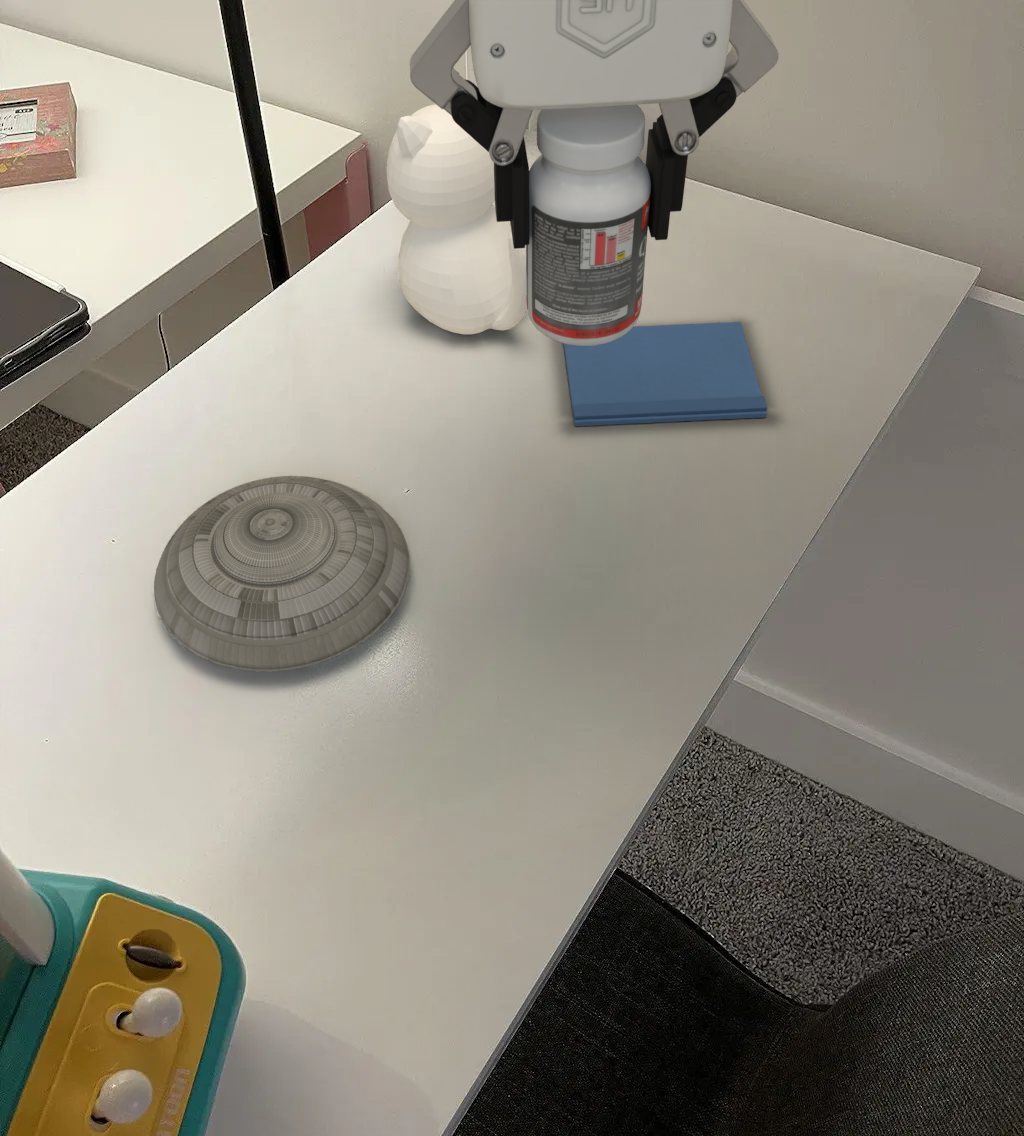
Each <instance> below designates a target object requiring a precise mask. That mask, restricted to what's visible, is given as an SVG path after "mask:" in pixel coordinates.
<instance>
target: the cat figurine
mask: <svg viewBox="0 0 1024 1136" xmlns="http://www.w3.org/2000/svg"><path fill="white" fill-rule="evenodd" d="M386 182H387V189H388V193H389V196H390V198H391V200H392V203H393V205H394V207H395V208H396V209H397V211H398V212H400V214H402V215H403V216H404V217H405V218H406V219H407V220H409V223H408V225H407V226H406V228H405V230H404V233H403V235H402V238H401V243H400V246H399V252H398V265H397V269H398V281H399V284H400V288H401V291H402V293H403V297H404V299H406V300H407V302H409V304H410V305H411V307H412V308H413V310H415V311H416V312H417V313H418V314H420V316H422V317H423V318H425V320H427V321H428V322H430V324H434V325H435V326H437V327H438V328H440V329H443V330H445V331H448V332H451V333H455V334H459V335H476V334H480V333H482V332H485V331H487V330H491V329H492V330H495V331H507V330H510V329H513V328H514V327H516V326H517V325H518V324H519V323H520V322H521V321H522V320H523V318H524V317H525V316H526V313H527V312H528V311H527V302H526V296H527V293H526V245H525V248H518V249H514V246H513V239H512V231H511V224H510V221H505V222H497V220H496V211H495V205H493V204H495V189H494V162H493V161H492V160H491V158H490V155H489V152H488V151H487V150H486V149H484V148H483V147H482V146H481V145H480V144H479V143H478V142H477V141H476V140H474V139H473V138H472V137H471V136H470V135H469V134H468V133H467V132H465V131H464V130H463V129H462V128H461V127H460V126H459V125H458V124H456V123H455V121H454V120H453V118H452V116H451V115H450V114H449V113H448V112H447V111H445V110H444V109H441V108H440V107H439V106H438V105H436V104H435V103H434V104H430V105H427V106H423V107H422V108H419V109H418V110H416V111H415V112H414V113H412V114H410V115H404V116H401V117H400V118H399V120H398V122H397V127H396V131H395V133H394V135H393V138H392V140H391V143H390V146H389V150H388V155H387V162H386Z"/></svg>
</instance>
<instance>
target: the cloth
mask: <svg viewBox="0 0 1024 1136" xmlns="http://www.w3.org/2000/svg"><path fill="white" fill-rule="evenodd" d="M747 342H748V341H747V339H746V335H745V332H744V328H743V325H742V322H741V321H730V322H708V323H686V324H685V323H683V324H682V323H681V324H663V325H662V324H661V325H659V324H658V325H640V326H639V325H638V326H637V325H636V326H633V328H632V329H631V330H630V331H629V332H627V333H626V334H625V335H623V336H622V337H620V338H618V339H616V340H613V341H611V342H608V343H604V344H599V345H592V346H577V345H569V344H565V343H562V345H563V351H564V356H565V366H566V373H567V380H568V388H569V395H570V404H571V411H572V419H573V425H574V427H590V426H608V425H630V424H633V425H634V424H650V423H651V424H655V423H673V422H674V423H675V422H694V421H695V422H698V421H716V420H717V421H718V420H737V419H738V420H739V419H757V418H758V419H759V418H760V419H761V418H767V414H768V412H767V411H768V406H767V402H766V399H765V396H764V395H762V391H761V387H760V384H759V380H758V377H757V373H756V370H755V366H754V363H753V360H752V357H751V353H750V349H749V346H748V343H747Z"/></svg>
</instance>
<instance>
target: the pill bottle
mask: <svg viewBox="0 0 1024 1136" xmlns="http://www.w3.org/2000/svg"><path fill="white" fill-rule="evenodd" d="M536 120H537V122H536V147H537V149H538V151H539V153H540V155H539V156H538V157H537V158H536V159H535V160H534V162H533V163H532V165H531V166H530V167H529V245H526V293H527V296H526V302H527V311H526V312H527V315H528V317H529V320H530V322H531V324H532V325H533V326H534V327H535V329H537V331H539V332H540V333H541V334H542V335H544V336H545V337H547V338H549V339H550V340H553V341H555V342H558V343H561V344H563V343H565V344H569V345H577V346H592V345H599V344H604V343H608V342H611V341H613V340H616V339H618V338H620V337H622V336H623V335H625V334H626V333H627V332H629V331H630V330H631V329H632V328H633V327H635V325H636V324H637V322H638V321H639V318H640V315H641V311H642V305H643V294H644V280H645V267H646V257H647V255H646V254H647V242H648V231H649V228H648V219H649V208H650V197H651V179H650V175H649V172H648V169H647V167H646V162H645V161H644V160H643V159H642V158H641V157H640V156H639V155H640V154H641V153H642V152H643V149H644V146H645V133H646V131H645V130H646V116H645V113H644V111H643V110H642V107H640V106H639V104H637V105H620V106H603V107H584V108H565V109H543V110H540V111H539V113H538V116H537V119H536Z"/></svg>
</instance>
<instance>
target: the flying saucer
mask: <svg viewBox="0 0 1024 1136" xmlns="http://www.w3.org/2000/svg"><path fill="white" fill-rule="evenodd" d="M410 568H411V558H410V549H409V546H408V543H407V540H406V537H405V534H404V533H403V531H402V529H401V527H400V526H399V524H398V523H397V521H396V520H395V519H394V518H393V516H392V515H391V514H390V513H389V512H388V511H387V510H386V509H384V507H382V506H381V505H380V504H378V502H376V501H375V500H374V499H372V498H371V497H370V496H367V495H366V494H364V493H362V492H360V491H358V490H356V489H354V488H352V487H351V486H348V485H345V484H342V483H339V482H337V481H334V480H333V481H332V480H330V479H325V478H320V477H314V476H305V475H304V476H303V475H281V476H271V477H265V478H261V479H256V480H252V481H251V480H250V481H249V482H245V483H242V484H240V485H237V486H234V487H231V488H229V489H227V490H225V491H223V492H221V493H219V494H218V495H216V496H214V497H212V498H211V499H209V500H208V501H206V502H205V503H203V504H202V505H200V506H199V507H198V508H197V509H195V510H194V511H193V512H192V513H191V514H190V515H189V516H188V517H187V518H186V519H185V520H184V521H183V522H182V523H181V524H180V525H179V527H178V528H177V529H176V530H175V532H174V533H173V534H172V536H171V537H170V539H169V540H168V542H167V544H166V545H165V546H164V549H163V551H162V553H161V555H160V559H159V561H158V563H157V567H156V570H155V573H154V574H155V575H154V580H153V581H154V582H153V596H154V601H155V606H156V609H157V612H158V615H159V617H160V620H161V621H162V623H163V625H164V626H165V628H166V630H167V631H168V632H169V633H170V634H171V636H172V637H173V638H174V639H175V640H176V641H177V642H178V643H179V644H181V645H182V646H183V647H184V648H185V649H187V650H188V651H190V652H192V653H193V654H194V655H196V656H198V657H200V658H202V659H204V660H207V661H209V662H211V663H214V664H217V665H219V666H222V667H227V668H229V669H230V668H231V669H236V670H241V671H247V672H248V671H250V672H283V671H290V670H297V669H301V668H306V667H310V666H314V665H317V664H320V663H323V662H326V661H329V660H331V659H333V658H336V657H339V656H341V655H343V654H344V653H347V652H348V651H350V650H352V649H354V648H356V647H357V646H359V645H360V644H361V643H363V642H364V641H366V640H367V639H368V638H370V637H371V636H372V635H373V634H375V633H376V632H377V631H378V630H379V629H381V627H382V626H383V625H384V624H385V623H386V622H387V621H388V620H389V618H390V617H391V616H392V615H393V613H394V612H395V610H396V609H397V608H398V605H399V604H400V602H401V600H402V598H403V596H404V593H405V591H406V588H407V585H408V582H409V577H410V571H411V569H410Z"/></svg>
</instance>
